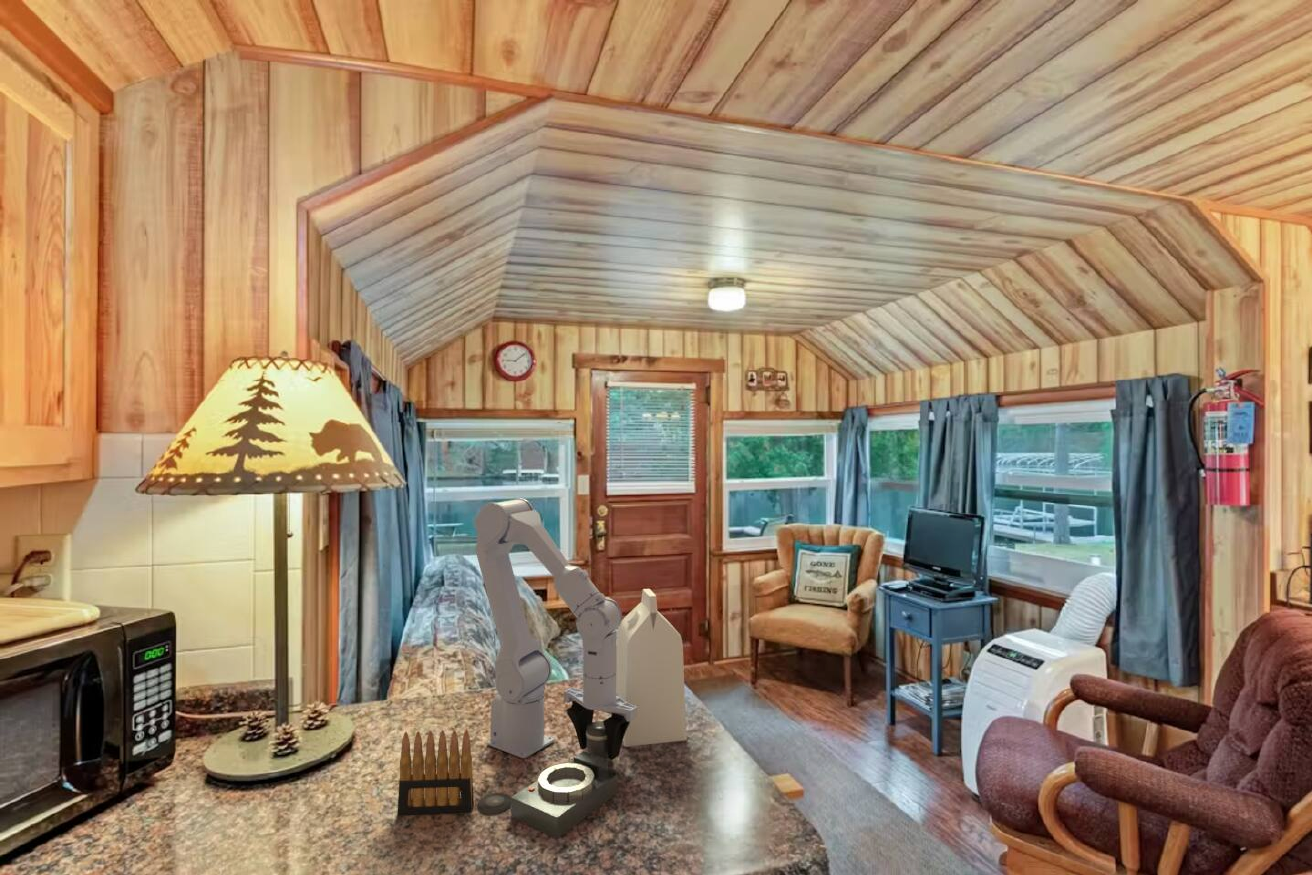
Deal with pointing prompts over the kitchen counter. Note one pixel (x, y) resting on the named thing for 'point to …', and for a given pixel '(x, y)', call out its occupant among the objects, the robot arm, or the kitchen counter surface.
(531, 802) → the camera body
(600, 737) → the lens
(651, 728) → the milk
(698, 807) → the kitchen counter surface
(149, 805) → the kitchen counter surface
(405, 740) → the ammunition clip
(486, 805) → the lens cap
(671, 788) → the kitchen counter surface
